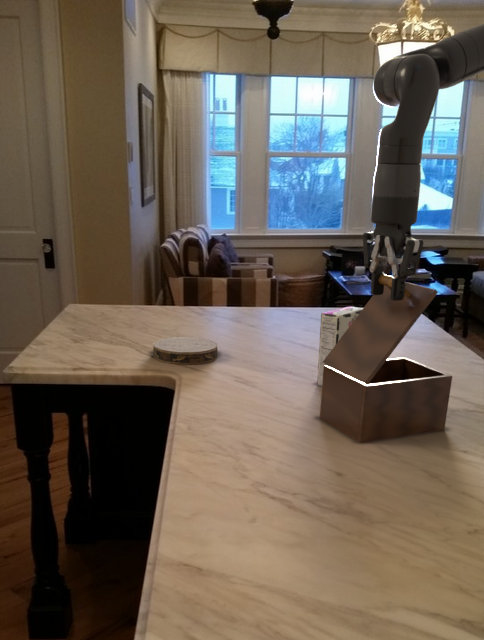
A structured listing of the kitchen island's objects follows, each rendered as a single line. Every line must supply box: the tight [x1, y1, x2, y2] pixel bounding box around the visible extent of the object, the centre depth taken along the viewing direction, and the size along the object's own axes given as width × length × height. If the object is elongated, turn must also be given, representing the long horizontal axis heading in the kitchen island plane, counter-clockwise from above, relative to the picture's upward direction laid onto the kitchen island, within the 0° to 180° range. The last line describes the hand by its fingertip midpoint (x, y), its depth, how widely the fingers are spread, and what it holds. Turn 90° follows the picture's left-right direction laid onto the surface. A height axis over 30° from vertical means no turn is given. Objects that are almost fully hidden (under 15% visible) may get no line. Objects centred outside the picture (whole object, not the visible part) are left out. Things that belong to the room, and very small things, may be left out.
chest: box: [319, 357, 453, 444], centre depth 130 cm, size 19×14×11 cm
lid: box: [323, 273, 439, 385], centre depth 123 cm, size 19×14×5 cm
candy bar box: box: [316, 306, 364, 387], centre depth 154 cm, size 11×5×16 cm, turn 137°
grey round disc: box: [152, 336, 218, 365], centre depth 175 cm, size 16×16×3 cm
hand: (386, 296), depth 122 cm, fingers closed on lid, 5 cm apart
